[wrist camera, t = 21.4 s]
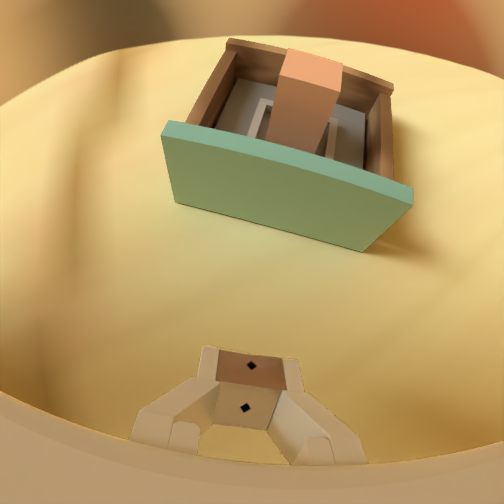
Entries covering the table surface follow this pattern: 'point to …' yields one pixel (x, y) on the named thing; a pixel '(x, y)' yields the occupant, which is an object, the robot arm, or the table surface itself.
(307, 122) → the terracotta block
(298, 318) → the table surface
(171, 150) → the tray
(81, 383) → the table surface
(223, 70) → the dock
